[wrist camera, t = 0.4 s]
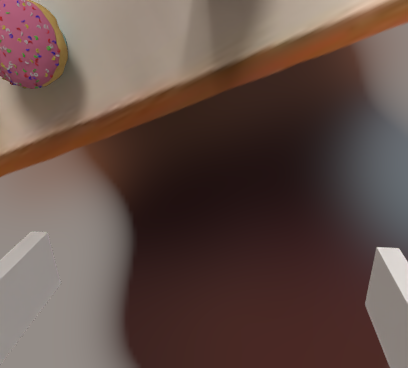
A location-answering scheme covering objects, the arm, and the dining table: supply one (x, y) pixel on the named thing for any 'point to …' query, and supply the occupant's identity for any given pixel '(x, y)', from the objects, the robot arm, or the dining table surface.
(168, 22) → the dining table surface
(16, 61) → the cupcake
